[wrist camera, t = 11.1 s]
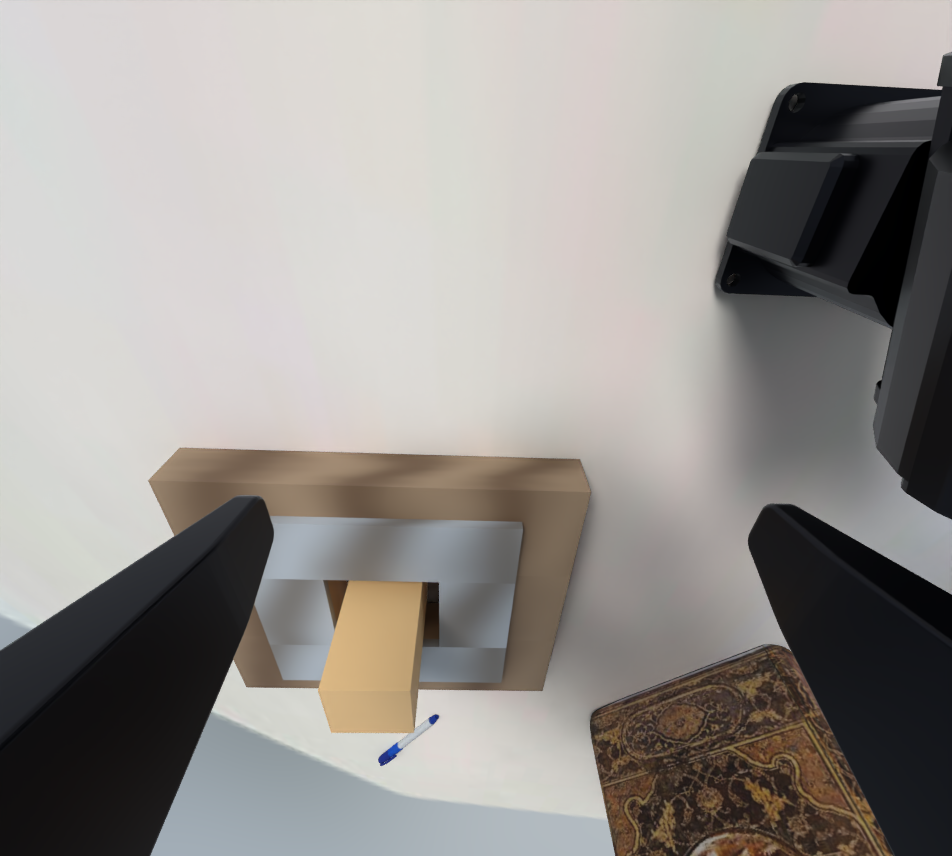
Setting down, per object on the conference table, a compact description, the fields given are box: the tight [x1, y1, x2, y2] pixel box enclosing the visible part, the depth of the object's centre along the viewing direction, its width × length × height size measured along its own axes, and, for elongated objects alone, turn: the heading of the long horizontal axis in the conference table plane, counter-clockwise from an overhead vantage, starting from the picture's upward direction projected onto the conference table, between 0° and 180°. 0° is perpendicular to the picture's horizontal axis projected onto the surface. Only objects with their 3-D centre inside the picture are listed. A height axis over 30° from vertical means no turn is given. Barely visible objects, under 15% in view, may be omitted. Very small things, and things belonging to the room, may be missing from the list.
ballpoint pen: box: [378, 714, 439, 766], centre depth 39 cm, size 10×1×1 cm, turn 148°
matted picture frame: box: [148, 448, 591, 691], centre depth 25 cm, size 20×18×3 cm
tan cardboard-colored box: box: [318, 580, 428, 733], centre depth 23 cm, size 4×4×8 cm
